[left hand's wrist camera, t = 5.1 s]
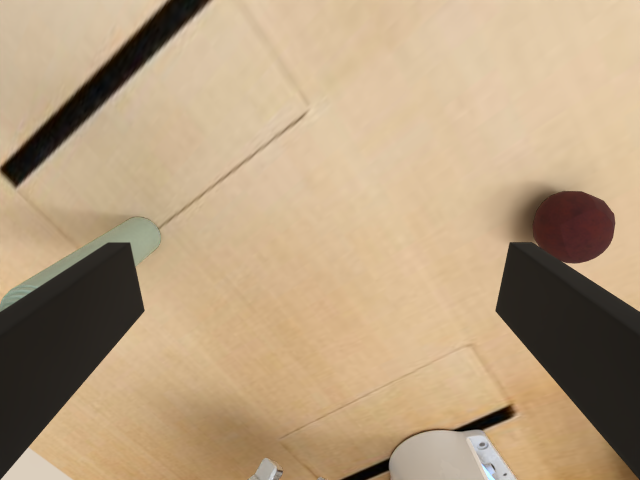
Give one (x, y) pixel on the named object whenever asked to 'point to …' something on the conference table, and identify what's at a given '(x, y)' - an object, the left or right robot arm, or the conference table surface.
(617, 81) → the conference table surface
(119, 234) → the bottle
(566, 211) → the dark maroon ball
